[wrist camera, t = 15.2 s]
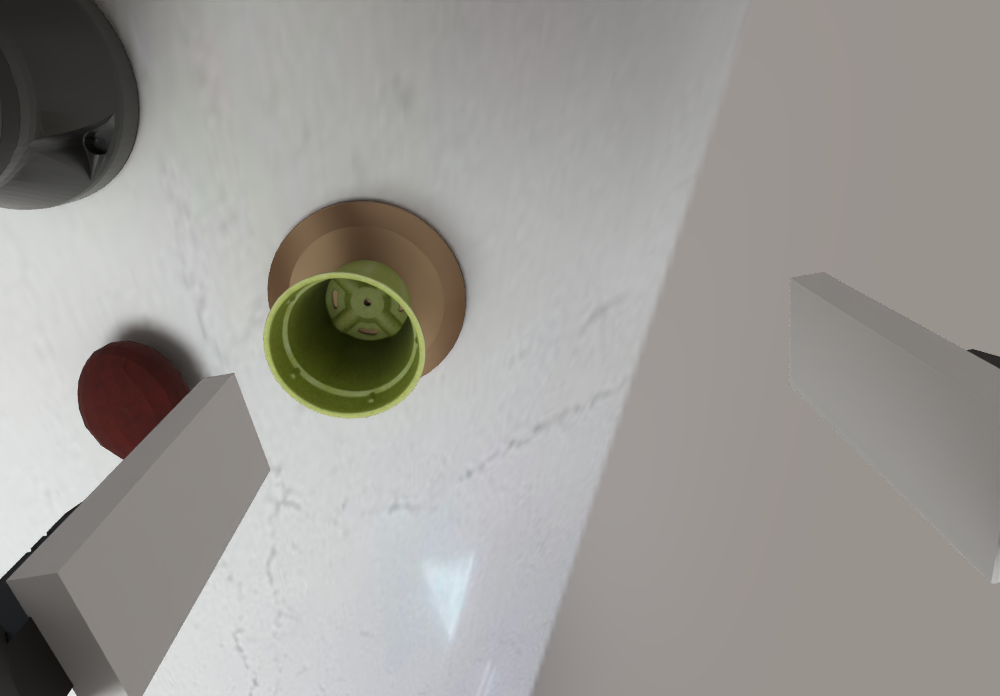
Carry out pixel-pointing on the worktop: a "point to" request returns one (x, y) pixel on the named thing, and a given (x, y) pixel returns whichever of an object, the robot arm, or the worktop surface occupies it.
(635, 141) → the worktop surface
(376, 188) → the worktop surface
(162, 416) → the potato
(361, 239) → the plate
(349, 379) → the plant pot
